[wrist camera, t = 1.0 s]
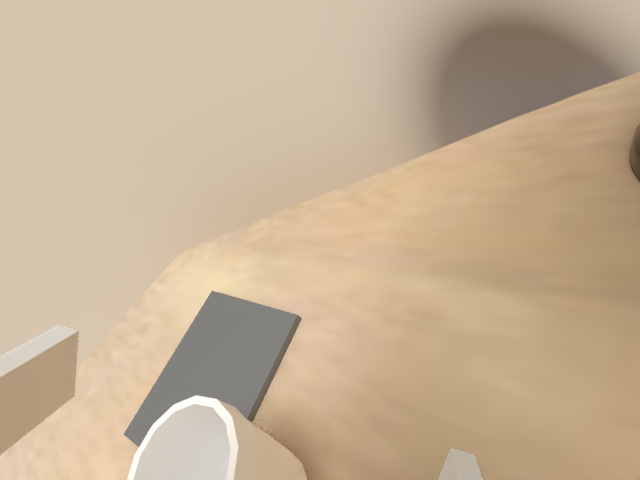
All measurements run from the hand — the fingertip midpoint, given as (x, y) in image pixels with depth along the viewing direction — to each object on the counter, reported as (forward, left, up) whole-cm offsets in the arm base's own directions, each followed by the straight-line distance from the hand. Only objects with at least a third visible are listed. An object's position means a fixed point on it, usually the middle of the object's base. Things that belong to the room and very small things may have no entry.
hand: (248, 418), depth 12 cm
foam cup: (+5, -12, -24) cm, 28 cm away
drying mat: (-1, -26, -24) cm, 35 cm away
